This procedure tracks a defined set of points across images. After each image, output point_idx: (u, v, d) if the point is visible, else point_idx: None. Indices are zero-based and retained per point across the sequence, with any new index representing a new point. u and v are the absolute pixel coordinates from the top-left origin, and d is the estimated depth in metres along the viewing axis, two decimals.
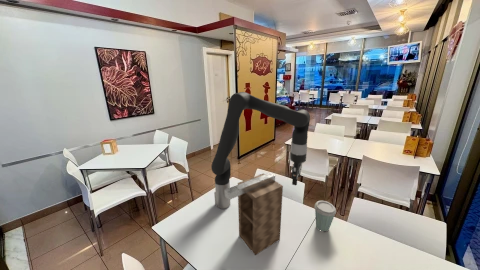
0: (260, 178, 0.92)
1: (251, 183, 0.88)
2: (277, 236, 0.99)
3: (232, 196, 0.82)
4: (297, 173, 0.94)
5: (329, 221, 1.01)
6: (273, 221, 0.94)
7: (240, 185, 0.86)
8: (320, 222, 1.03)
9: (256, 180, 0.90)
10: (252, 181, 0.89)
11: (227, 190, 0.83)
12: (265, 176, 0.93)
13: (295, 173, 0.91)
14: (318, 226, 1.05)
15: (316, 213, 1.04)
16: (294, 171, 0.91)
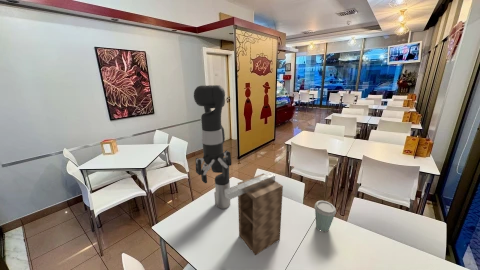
0: (260, 178, 0.92)
1: (251, 183, 0.88)
2: (277, 236, 0.99)
3: (232, 196, 0.82)
4: None
5: (329, 221, 1.01)
6: (273, 221, 0.94)
7: (240, 185, 0.86)
8: (320, 222, 1.03)
9: (256, 180, 0.90)
10: (252, 181, 0.89)
11: (227, 190, 0.83)
12: (265, 176, 0.93)
13: None
14: (318, 226, 1.05)
15: (316, 213, 1.04)
16: None
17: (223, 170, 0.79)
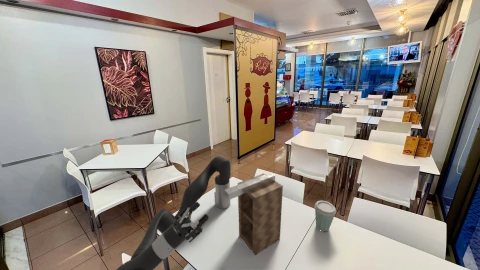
0: (260, 178, 0.92)
1: (251, 183, 0.88)
2: (277, 236, 0.99)
3: (232, 196, 0.82)
4: None
5: (329, 221, 1.01)
6: (273, 221, 0.94)
7: (240, 185, 0.86)
8: (320, 222, 1.03)
9: (256, 180, 0.90)
10: (252, 181, 0.89)
11: (227, 190, 0.83)
12: (265, 176, 0.93)
13: None
14: (318, 226, 1.05)
15: (316, 213, 1.04)
16: None
17: (193, 208, 0.79)
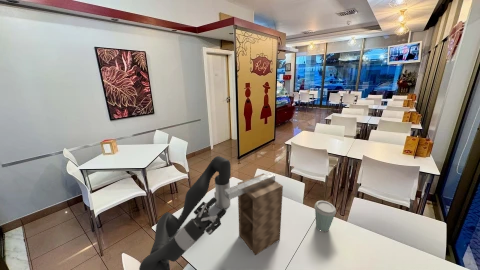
0: (260, 178, 0.92)
1: (251, 183, 0.88)
2: (277, 236, 0.99)
3: (232, 196, 0.82)
4: None
5: (329, 221, 1.01)
6: (273, 221, 0.94)
7: (240, 185, 0.86)
8: (320, 222, 1.03)
9: (256, 180, 0.90)
10: (252, 181, 0.89)
11: (227, 190, 0.83)
12: (265, 176, 0.93)
13: None
14: (318, 226, 1.05)
15: (316, 213, 1.04)
16: None
17: (211, 203, 0.84)
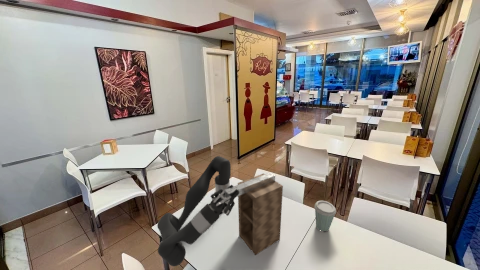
0: (260, 178, 0.92)
1: (251, 183, 0.88)
2: (277, 236, 0.99)
3: None
4: None
5: (329, 221, 1.01)
6: (273, 221, 0.94)
7: (240, 185, 0.86)
8: (320, 222, 1.03)
9: (256, 180, 0.90)
10: (252, 181, 0.89)
11: (227, 190, 0.83)
12: (265, 176, 0.93)
13: None
14: (318, 226, 1.05)
15: (316, 213, 1.04)
16: None
17: None
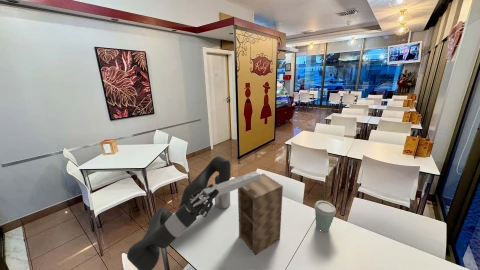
0: (243, 177, 0.85)
1: (233, 182, 0.82)
2: (277, 236, 0.99)
3: None
4: None
5: (329, 221, 1.01)
6: (273, 221, 0.94)
7: (221, 184, 0.80)
8: (320, 222, 1.03)
9: (239, 179, 0.84)
10: (234, 180, 0.83)
11: (206, 190, 0.77)
12: (249, 175, 0.87)
13: None
14: (318, 226, 1.05)
15: (316, 213, 1.04)
16: None
17: None
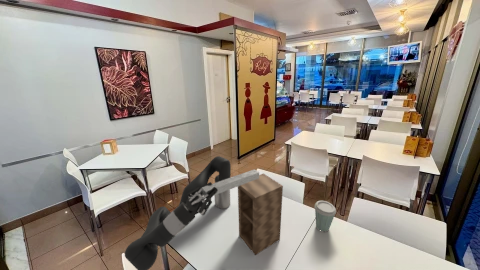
0: (242, 175, 0.85)
1: (232, 180, 0.81)
2: (277, 236, 0.99)
3: None
4: None
5: (329, 221, 1.01)
6: (273, 221, 0.94)
7: (220, 182, 0.80)
8: (320, 222, 1.03)
9: (238, 177, 0.84)
10: (233, 178, 0.83)
11: (204, 188, 0.76)
12: (248, 173, 0.87)
13: None
14: (318, 226, 1.05)
15: (316, 213, 1.04)
16: None
17: None
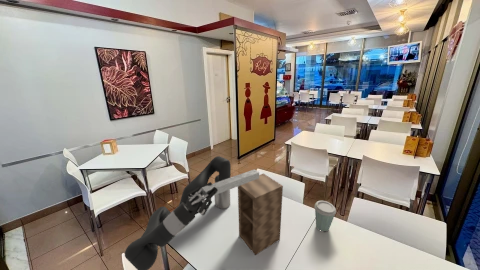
0: (242, 175, 0.85)
1: (232, 180, 0.81)
2: (277, 236, 0.99)
3: None
4: None
5: (329, 221, 1.01)
6: (273, 221, 0.94)
7: (220, 182, 0.80)
8: (320, 222, 1.03)
9: (238, 177, 0.84)
10: (233, 178, 0.83)
11: (204, 188, 0.76)
12: (248, 173, 0.87)
13: None
14: (318, 226, 1.05)
15: (316, 213, 1.04)
16: None
17: None
